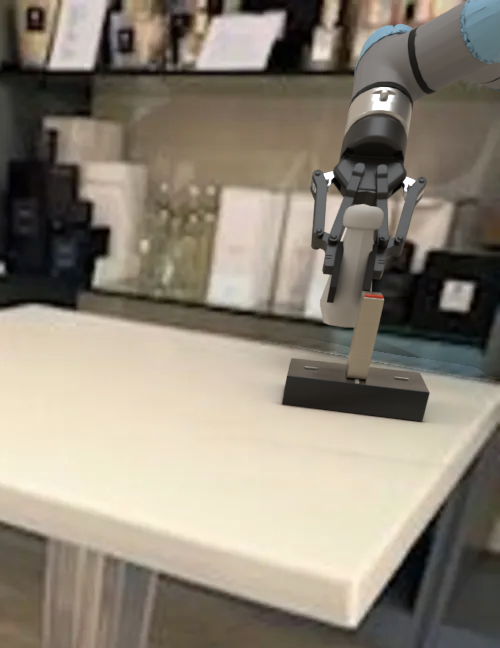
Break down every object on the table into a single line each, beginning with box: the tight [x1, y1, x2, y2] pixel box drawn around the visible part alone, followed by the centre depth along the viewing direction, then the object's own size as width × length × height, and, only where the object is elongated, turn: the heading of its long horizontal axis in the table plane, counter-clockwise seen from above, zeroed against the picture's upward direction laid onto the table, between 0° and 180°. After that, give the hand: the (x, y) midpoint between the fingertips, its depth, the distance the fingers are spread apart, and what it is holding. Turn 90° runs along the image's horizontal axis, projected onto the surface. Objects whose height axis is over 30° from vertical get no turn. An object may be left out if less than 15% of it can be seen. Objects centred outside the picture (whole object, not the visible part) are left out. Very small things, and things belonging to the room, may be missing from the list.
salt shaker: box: [319, 204, 384, 328], centre depth 102 cm, size 6×6×13 cm
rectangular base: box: [281, 357, 431, 422], centre depth 94 cm, size 14×11×3 cm
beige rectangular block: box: [346, 291, 385, 380], centre depth 92 cm, size 6×2×8 cm, turn 163°
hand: (348, 296), depth 100 cm, fingers closed on salt shaker, 3 cm apart
